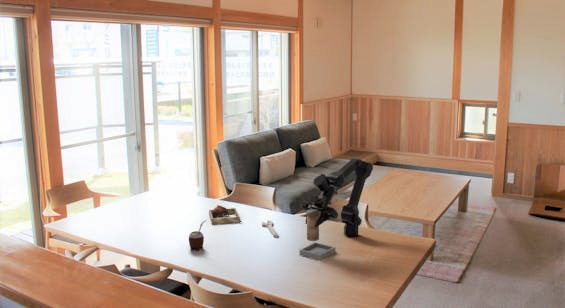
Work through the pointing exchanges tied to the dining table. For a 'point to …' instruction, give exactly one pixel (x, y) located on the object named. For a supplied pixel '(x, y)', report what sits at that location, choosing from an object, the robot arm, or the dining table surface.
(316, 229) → the walnut canister
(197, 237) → the mate gourd
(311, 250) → the tray
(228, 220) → the tray
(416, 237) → the dining table surface
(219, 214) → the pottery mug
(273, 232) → the adjustable wrench
